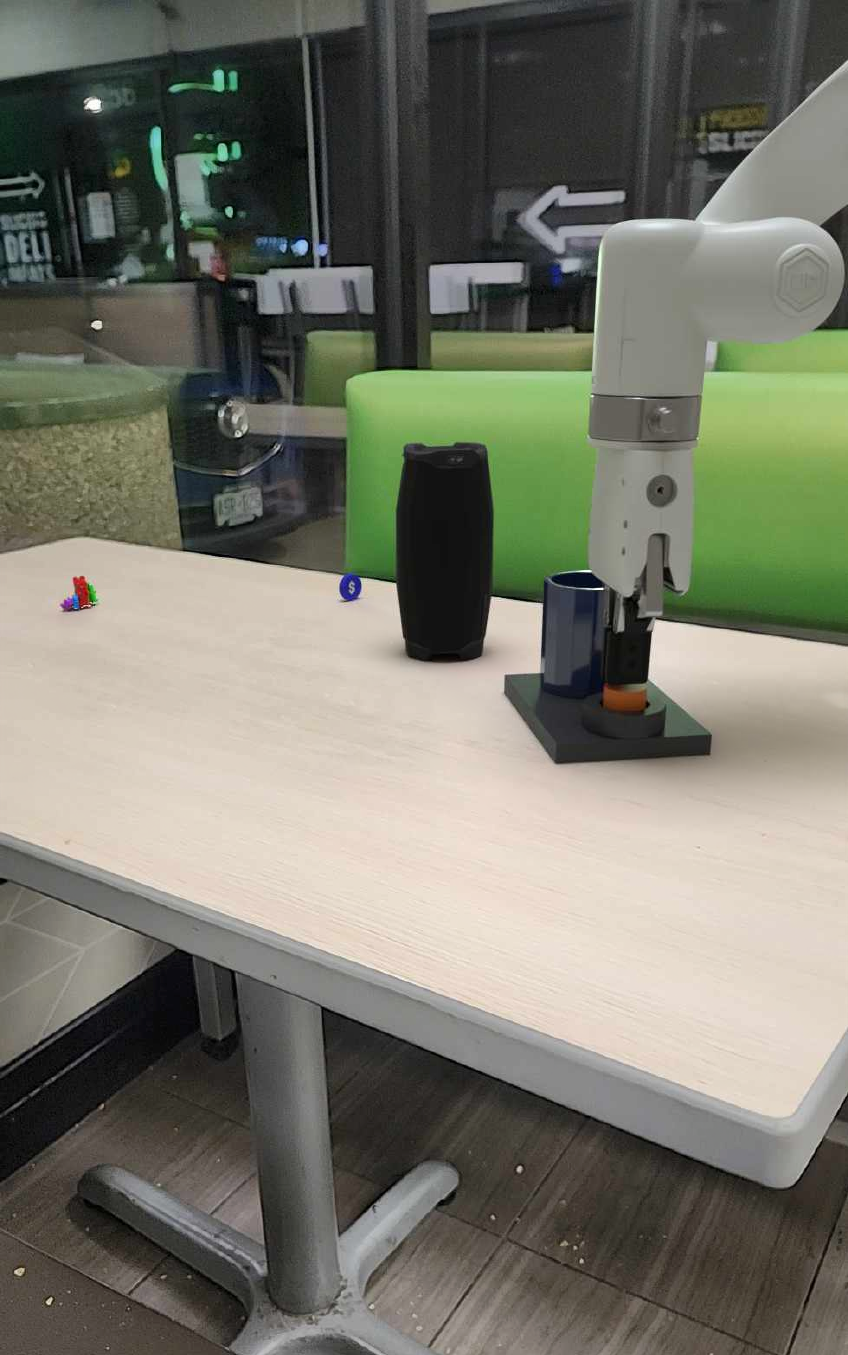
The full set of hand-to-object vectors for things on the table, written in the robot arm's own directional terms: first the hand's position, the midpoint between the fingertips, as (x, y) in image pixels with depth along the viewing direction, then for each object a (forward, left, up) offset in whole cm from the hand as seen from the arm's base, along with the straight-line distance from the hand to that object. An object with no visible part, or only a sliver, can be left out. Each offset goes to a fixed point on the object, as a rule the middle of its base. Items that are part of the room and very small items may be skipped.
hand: (623, 681), depth 86 cm
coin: (+16, -54, -6) cm, 57 cm away
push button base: (0, -6, -5) cm, 8 cm away
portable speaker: (+9, -29, -6) cm, 31 cm away
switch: (0, 0, -2) cm, 2 cm away
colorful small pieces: (+47, -55, -6) cm, 72 cm away
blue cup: (0, -11, -4) cm, 11 cm away
